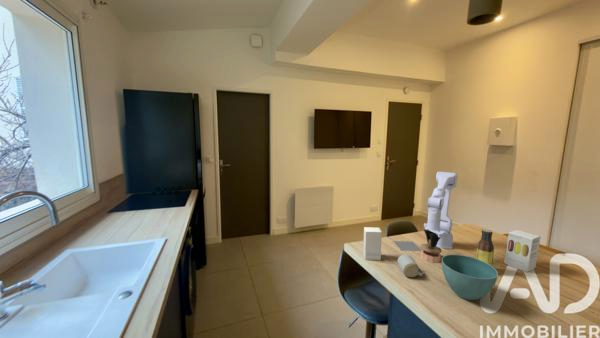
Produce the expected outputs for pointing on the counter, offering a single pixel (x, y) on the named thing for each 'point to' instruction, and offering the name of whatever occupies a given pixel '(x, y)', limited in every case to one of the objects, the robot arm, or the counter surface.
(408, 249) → the mat
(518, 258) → the supplement box
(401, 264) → the ceramic mug
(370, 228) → the skincare box
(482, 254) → the sauce bottle
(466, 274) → the deep teal bowl
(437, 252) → the lid
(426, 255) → the bowl
